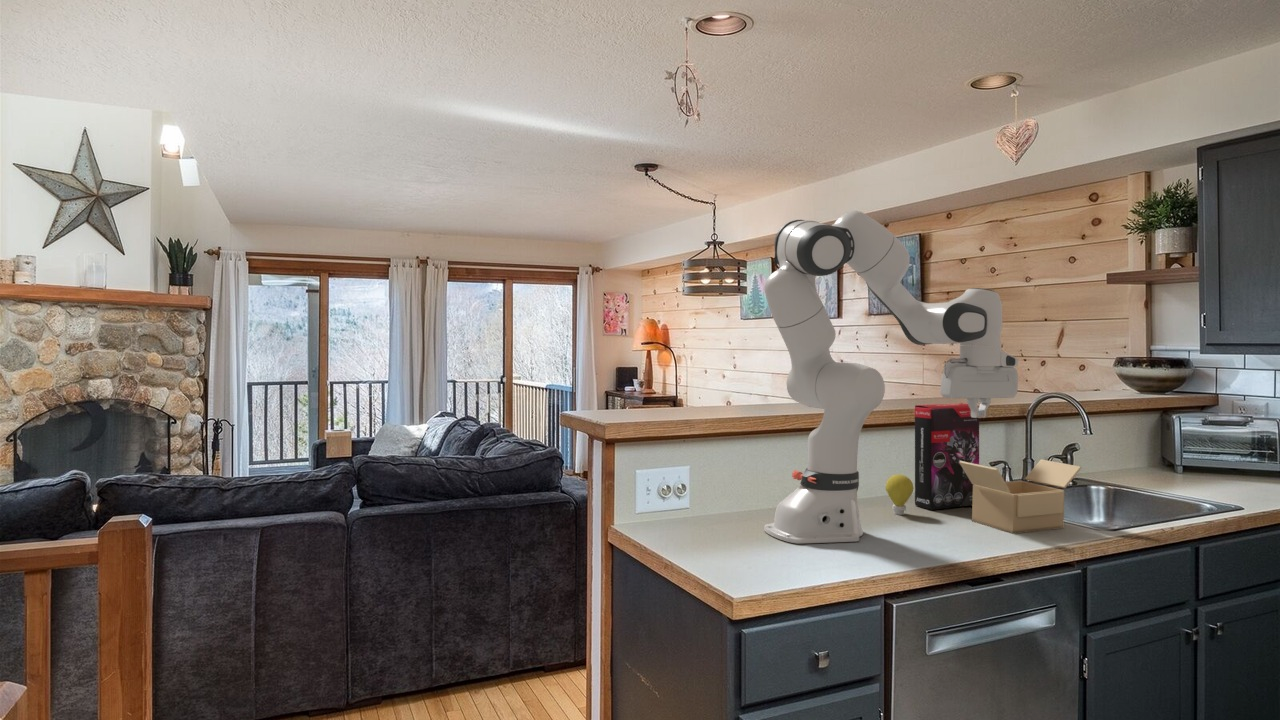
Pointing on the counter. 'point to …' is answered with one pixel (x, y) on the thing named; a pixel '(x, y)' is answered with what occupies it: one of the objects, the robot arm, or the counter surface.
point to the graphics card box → (944, 455)
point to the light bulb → (899, 492)
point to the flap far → (1053, 473)
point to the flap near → (984, 476)
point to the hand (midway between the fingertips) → (978, 417)
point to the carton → (1019, 507)
